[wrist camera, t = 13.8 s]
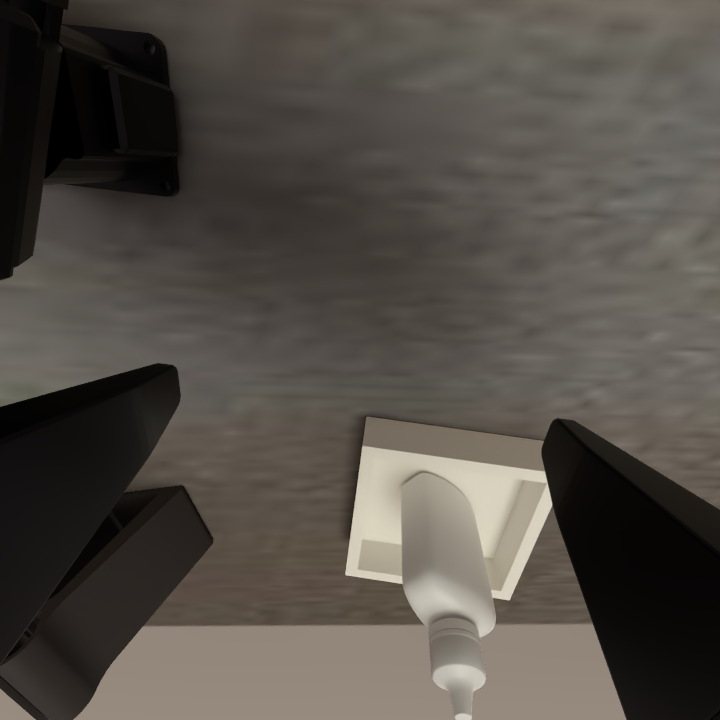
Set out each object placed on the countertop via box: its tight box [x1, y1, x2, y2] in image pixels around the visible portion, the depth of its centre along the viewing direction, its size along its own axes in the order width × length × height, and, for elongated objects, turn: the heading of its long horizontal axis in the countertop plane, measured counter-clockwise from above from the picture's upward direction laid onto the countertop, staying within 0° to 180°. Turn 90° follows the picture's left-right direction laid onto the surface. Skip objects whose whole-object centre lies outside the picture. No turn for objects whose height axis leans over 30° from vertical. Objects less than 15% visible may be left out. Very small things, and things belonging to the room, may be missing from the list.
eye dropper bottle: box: [401, 473, 496, 720], centre depth 21 cm, size 4×6×12 cm
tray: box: [345, 416, 552, 600], centre depth 26 cm, size 12×12×3 cm
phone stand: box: [0, 486, 213, 720], centre depth 26 cm, size 9×6×12 cm, turn 103°
